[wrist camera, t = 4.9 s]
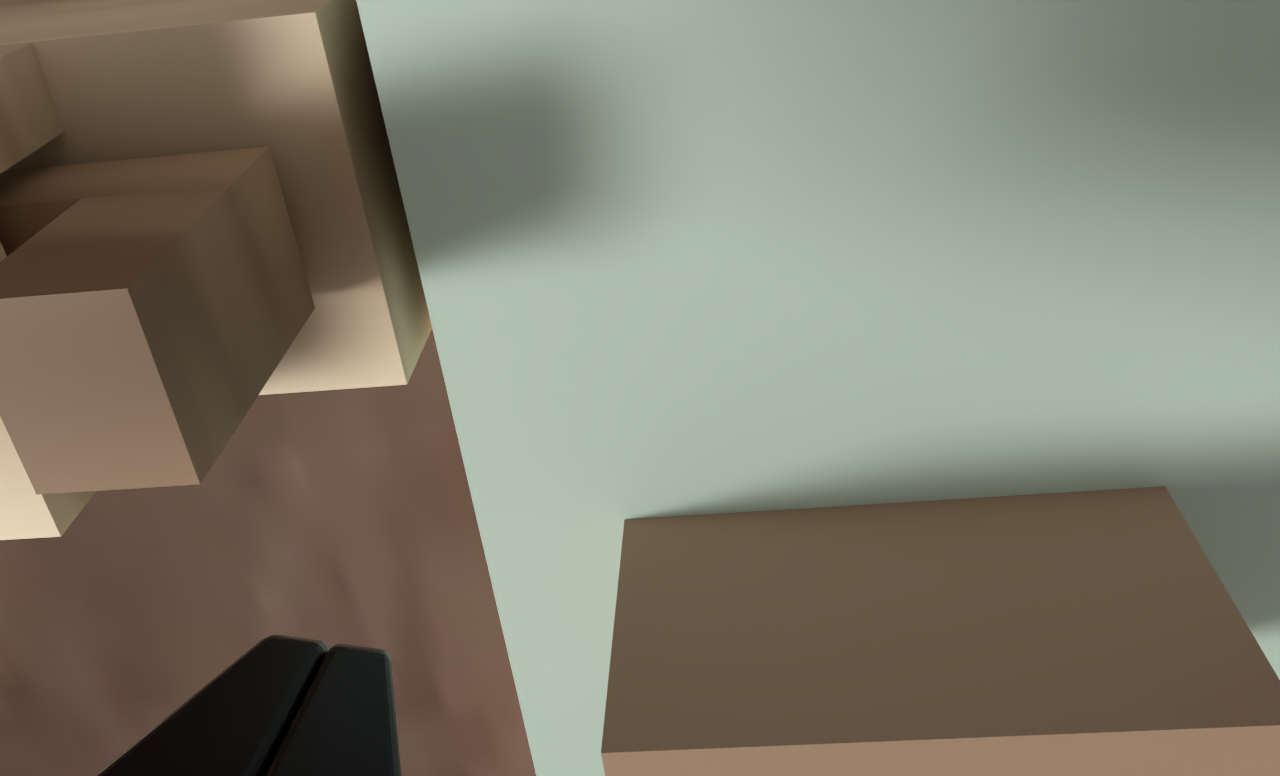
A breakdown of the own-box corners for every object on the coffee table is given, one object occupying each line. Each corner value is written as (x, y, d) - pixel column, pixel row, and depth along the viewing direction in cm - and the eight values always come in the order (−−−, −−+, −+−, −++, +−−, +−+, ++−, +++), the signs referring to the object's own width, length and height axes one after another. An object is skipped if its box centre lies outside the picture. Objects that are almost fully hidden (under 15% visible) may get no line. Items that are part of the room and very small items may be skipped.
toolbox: (1086, 765, 26) (1247, 1210, 18) (364, 790, 28) (232, 1208, 20) (1233, -394, 15) (1797, -504, 7) (16, -235, 17) (-583, -187, 9)
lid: (1176, 972, 22) (1297, 1300, 17) (603, 985, 23) (579, 1295, 18) (1464, -441, 11) (2010, -548, 6) (326, -285, 12) (93, -280, 7)
